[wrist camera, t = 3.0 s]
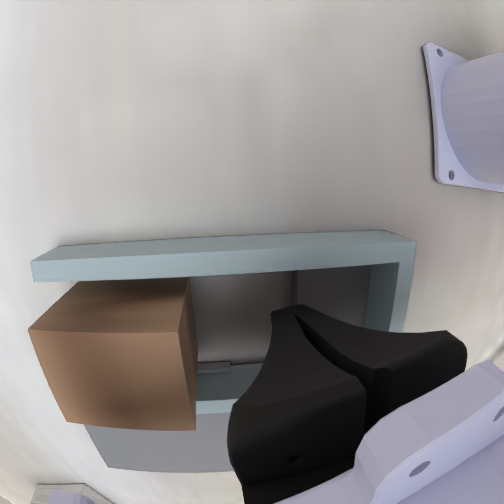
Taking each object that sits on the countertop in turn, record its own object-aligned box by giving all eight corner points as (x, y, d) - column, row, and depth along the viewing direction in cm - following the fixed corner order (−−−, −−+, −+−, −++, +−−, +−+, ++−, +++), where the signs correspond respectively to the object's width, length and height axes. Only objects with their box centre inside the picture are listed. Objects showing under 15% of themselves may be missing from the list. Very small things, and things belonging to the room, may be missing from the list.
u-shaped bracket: (384, 230, 13) (416, 241, 11) (367, 358, 15) (389, 383, 12) (58, 246, 11) (29, 261, 9) (91, 378, 13) (76, 408, 10)
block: (188, 273, 12) (177, 332, 8) (197, 353, 13) (196, 430, 8) (82, 278, 12) (27, 329, 7) (100, 353, 13) (66, 421, 8)
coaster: (230, 361, 14) (230, 368, 13) (238, 463, 16) (239, 470, 15) (62, 360, 12) (58, 366, 12) (109, 461, 15) (108, 467, 14)
